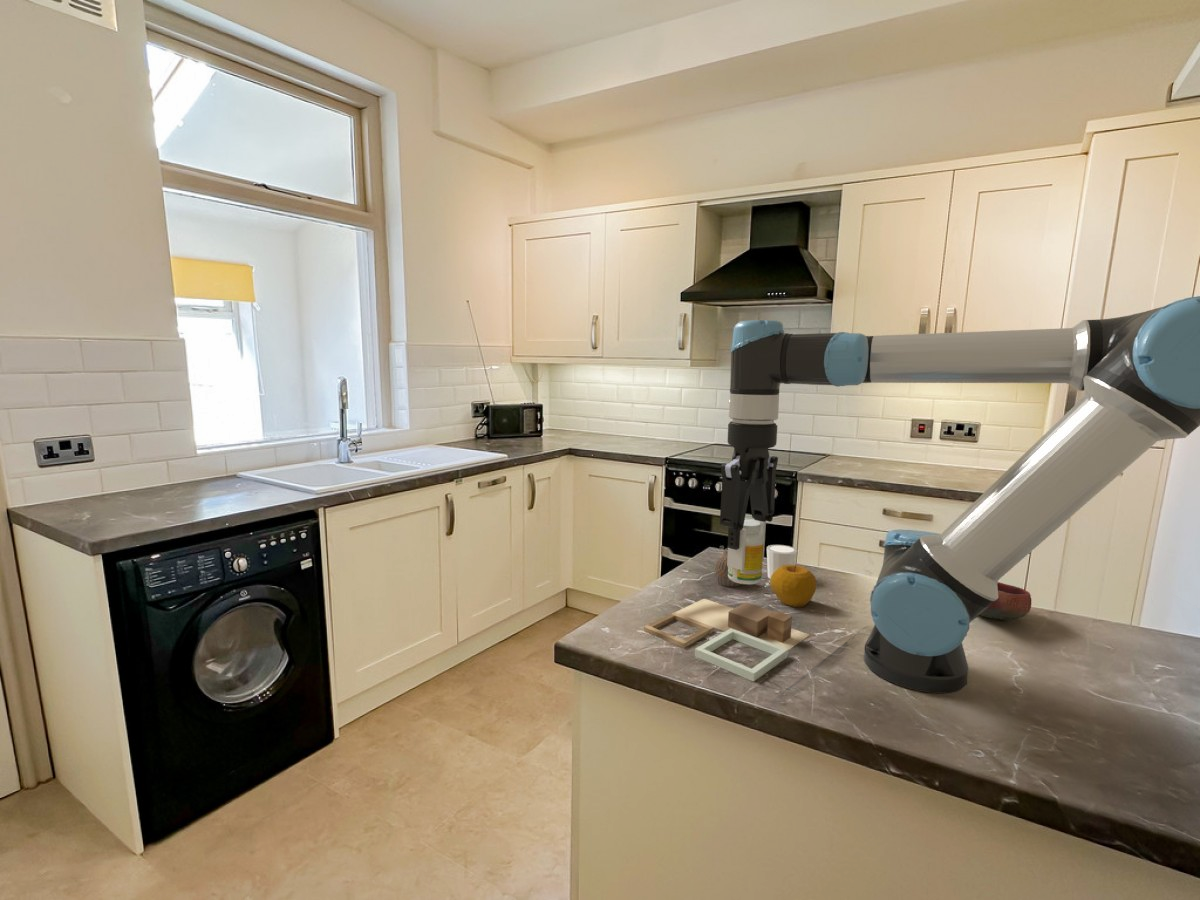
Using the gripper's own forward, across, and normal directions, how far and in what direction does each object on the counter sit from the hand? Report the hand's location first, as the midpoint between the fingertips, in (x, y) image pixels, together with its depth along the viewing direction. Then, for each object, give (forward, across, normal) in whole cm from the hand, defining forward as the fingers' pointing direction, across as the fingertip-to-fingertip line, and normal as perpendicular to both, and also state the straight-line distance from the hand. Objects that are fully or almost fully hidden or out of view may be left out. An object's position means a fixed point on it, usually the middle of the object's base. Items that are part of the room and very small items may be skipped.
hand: (745, 562), depth 96 cm
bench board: (+17, -11, -7) cm, 22 cm away
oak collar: (+17, 0, -13) cm, 22 cm away
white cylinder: (+18, -42, -15) cm, 48 cm away
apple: (+18, -28, -5) cm, 33 cm away
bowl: (+18, -51, +26) cm, 60 cm away
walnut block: (+16, -11, -5) cm, 20 cm away
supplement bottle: (+3, 0, 0) cm, 3 cm away
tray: (+17, 0, 0) cm, 17 cm away
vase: (+18, -28, -20) cm, 39 cm away
